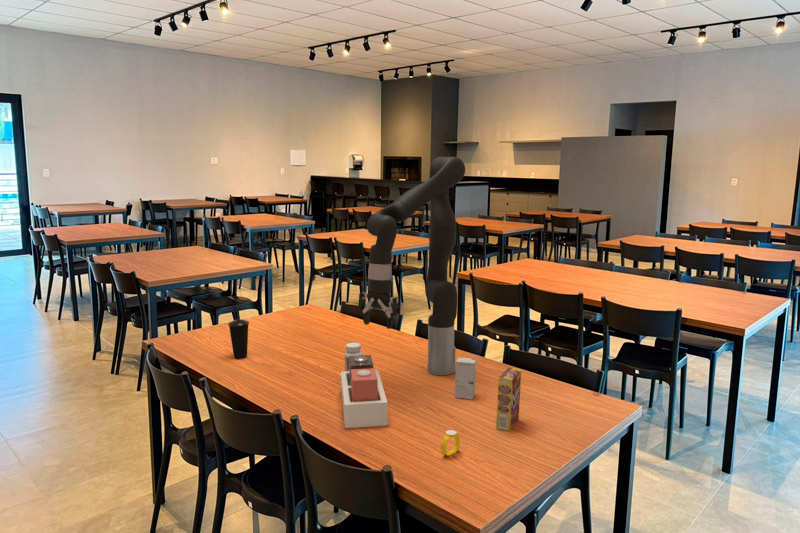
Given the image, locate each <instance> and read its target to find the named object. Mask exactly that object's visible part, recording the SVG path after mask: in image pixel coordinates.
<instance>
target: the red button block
mask: <svg viewBox="0 0 800 533" xmlns="http://www.w3.org/2000/svg"><path fill="white" fill-rule="evenodd" d="M375 370H376V369H375V368H374V367H373V368H370V369H351V393H352V400H353V402H363V401H378V379H377V376H376V372H375Z"/></svg>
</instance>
